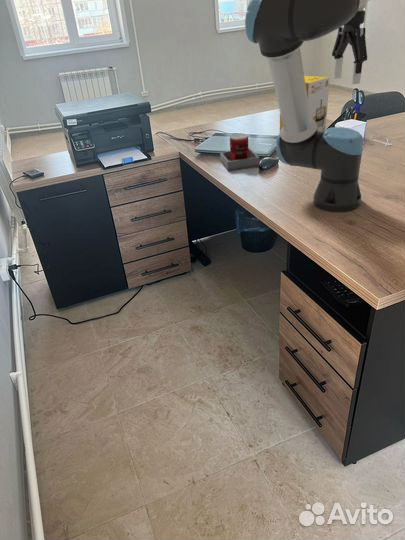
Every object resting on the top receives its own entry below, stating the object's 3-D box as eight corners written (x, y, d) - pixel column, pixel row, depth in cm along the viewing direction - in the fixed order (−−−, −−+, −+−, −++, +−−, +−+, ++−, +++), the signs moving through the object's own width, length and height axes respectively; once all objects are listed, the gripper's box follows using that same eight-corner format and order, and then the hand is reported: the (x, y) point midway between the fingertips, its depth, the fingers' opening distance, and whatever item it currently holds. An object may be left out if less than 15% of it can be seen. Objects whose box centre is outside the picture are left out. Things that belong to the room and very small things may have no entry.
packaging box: (305, 138, 194) (308, 83, 181) (279, 134, 205) (280, 81, 191) (325, 130, 203) (329, 77, 189) (299, 126, 213) (301, 75, 199)
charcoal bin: (259, 166, 168) (259, 157, 166) (228, 171, 166) (227, 162, 164) (250, 157, 179) (249, 148, 177) (220, 161, 178) (220, 152, 175)
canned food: (238, 157, 177) (237, 132, 171) (252, 160, 172) (252, 134, 166) (226, 162, 173) (225, 136, 167) (240, 166, 168) (240, 139, 162)
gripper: (385, 9, 121) (374, 84, 133) (345, 9, 142) (339, 75, 153) (362, 11, 120) (353, 87, 132) (325, 11, 141) (320, 77, 152)
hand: (345, 81), depth 143 cm, fingers open, 13 cm apart
